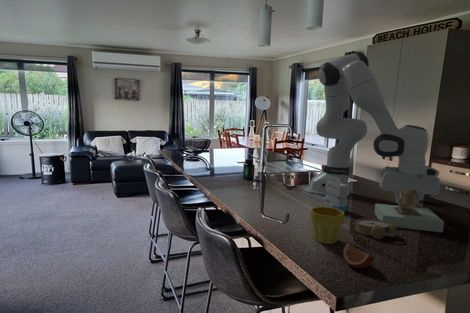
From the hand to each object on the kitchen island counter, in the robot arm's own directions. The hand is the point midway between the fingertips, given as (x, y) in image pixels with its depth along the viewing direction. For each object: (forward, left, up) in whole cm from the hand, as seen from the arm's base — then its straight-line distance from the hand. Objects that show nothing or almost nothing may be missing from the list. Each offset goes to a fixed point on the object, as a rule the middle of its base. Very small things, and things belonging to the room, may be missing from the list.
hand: (406, 203), depth 120 cm
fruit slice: (-23, -44, -8) cm, 50 cm away
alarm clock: (-13, -17, -8) cm, 23 cm away
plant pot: (-31, -29, -8) cm, 43 cm away
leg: (0, 0, -6) cm, 6 cm away
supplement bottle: (-74, +53, -8) cm, 91 cm away
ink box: (-26, +6, -8) cm, 27 cm away
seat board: (0, 0, -7) cm, 7 cm away
